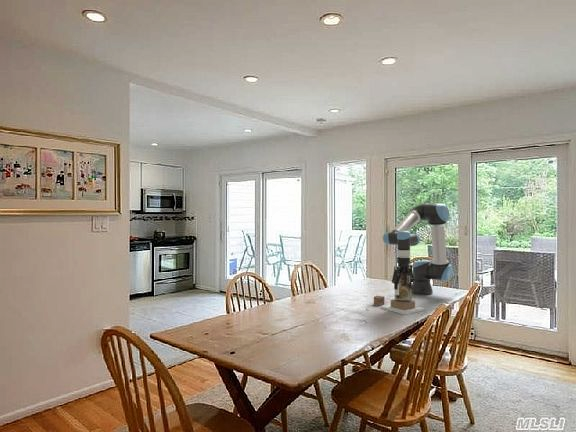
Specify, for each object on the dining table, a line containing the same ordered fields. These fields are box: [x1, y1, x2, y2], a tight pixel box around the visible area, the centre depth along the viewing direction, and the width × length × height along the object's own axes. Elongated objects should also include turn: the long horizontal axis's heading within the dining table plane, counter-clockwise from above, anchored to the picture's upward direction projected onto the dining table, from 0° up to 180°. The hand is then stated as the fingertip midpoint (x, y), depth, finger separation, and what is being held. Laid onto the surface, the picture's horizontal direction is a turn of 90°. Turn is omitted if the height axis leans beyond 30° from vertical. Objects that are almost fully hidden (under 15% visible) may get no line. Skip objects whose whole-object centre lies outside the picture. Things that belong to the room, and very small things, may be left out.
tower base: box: [380, 298, 426, 316], centre depth 236 cm, size 18×18×5 cm
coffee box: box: [394, 272, 413, 301], centre depth 236 cm, size 9×6×16 cm
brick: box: [373, 295, 385, 307], centre depth 248 cm, size 5×5×5 cm
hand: (403, 293), depth 236 cm, fingers closed on coffee box, 10 cm apart
